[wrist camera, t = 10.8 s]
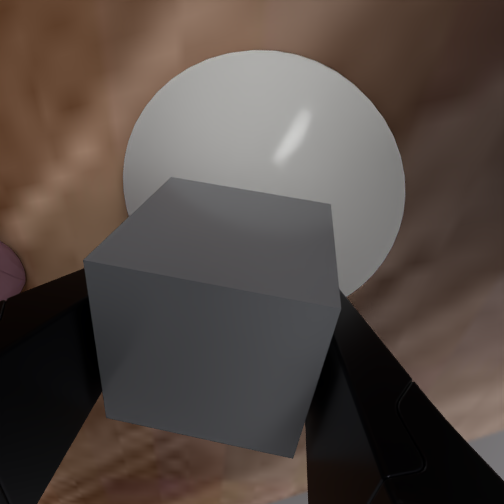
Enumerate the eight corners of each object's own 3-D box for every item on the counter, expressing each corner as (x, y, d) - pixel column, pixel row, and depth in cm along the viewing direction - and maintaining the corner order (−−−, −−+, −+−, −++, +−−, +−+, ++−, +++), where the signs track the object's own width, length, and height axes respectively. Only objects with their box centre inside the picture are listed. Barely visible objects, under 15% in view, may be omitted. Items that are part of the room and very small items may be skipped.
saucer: (348, -18, 10) (351, -24, 9) (427, 266, 14) (435, 281, 13) (84, 128, 13) (68, 134, 13) (209, 325, 17) (203, 340, 17)
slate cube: (330, 204, 9) (340, 308, 5) (299, 326, 11) (293, 458, 7) (170, 176, 9) (83, 260, 6) (170, 301, 11) (106, 417, 8)
